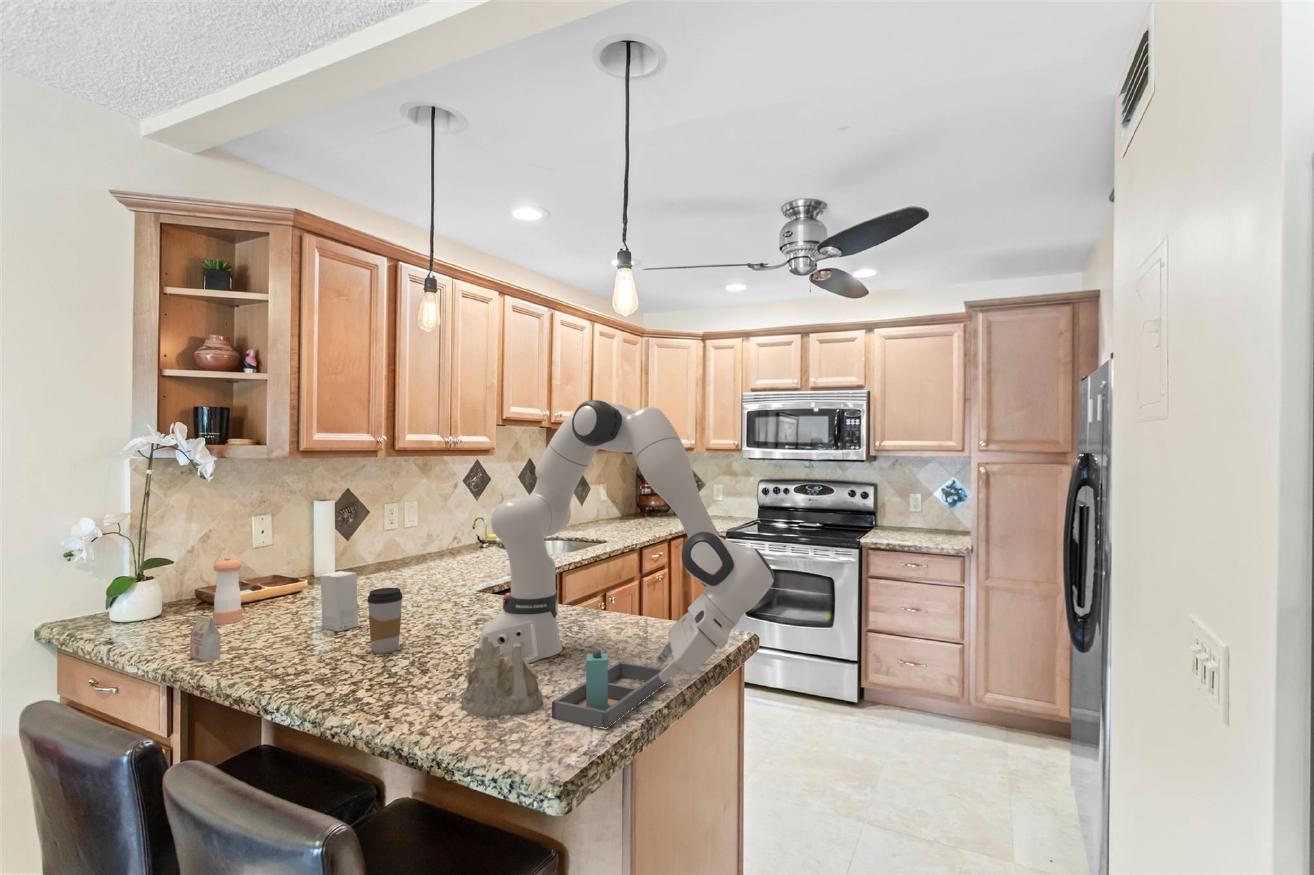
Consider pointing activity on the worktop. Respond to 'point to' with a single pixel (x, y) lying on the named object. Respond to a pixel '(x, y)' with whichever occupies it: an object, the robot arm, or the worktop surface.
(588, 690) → the teal plug
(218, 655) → the gable top carton
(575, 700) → the slot frame
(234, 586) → the salt shaker
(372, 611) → the coffee cup
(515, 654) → the castle ruin ornament
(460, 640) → the worktop surface
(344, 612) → the skincare box
